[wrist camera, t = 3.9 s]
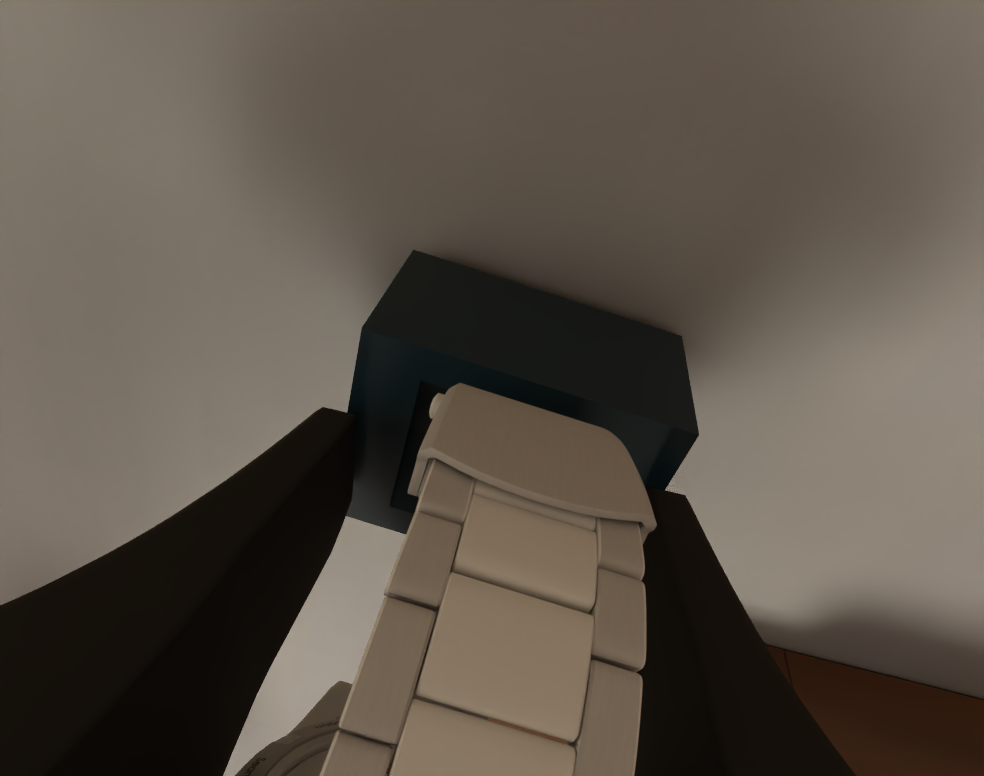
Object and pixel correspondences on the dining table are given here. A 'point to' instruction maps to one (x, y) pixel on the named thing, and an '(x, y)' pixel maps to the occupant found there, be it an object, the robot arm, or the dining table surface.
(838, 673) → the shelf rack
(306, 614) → the dining table surface
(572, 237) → the dining table surface
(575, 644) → the watch
